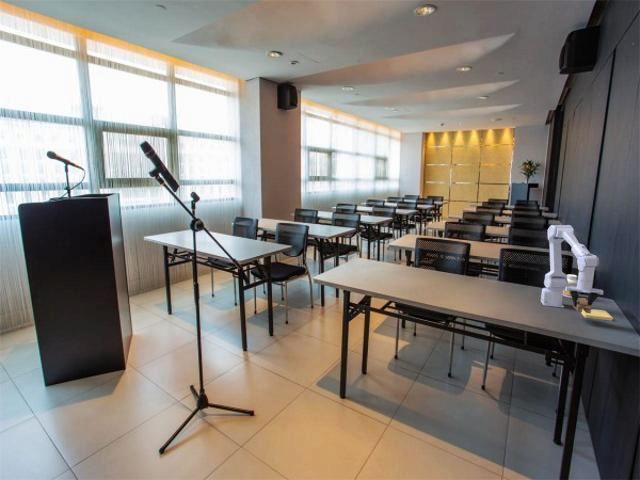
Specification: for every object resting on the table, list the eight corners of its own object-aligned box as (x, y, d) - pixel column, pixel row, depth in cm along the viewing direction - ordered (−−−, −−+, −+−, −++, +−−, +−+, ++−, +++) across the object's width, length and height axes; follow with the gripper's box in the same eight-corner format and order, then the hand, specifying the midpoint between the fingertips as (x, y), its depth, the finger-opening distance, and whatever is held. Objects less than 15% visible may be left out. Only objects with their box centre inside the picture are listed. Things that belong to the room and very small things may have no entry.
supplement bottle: (561, 293, 203) (563, 273, 201) (574, 295, 200) (577, 274, 198) (564, 297, 197) (567, 276, 194) (578, 298, 194) (581, 277, 192)
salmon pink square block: (579, 304, 164) (580, 299, 163) (577, 301, 166) (578, 297, 166) (587, 304, 162) (587, 300, 162) (584, 302, 165) (585, 298, 165)
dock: (585, 317, 169) (585, 314, 168) (578, 310, 178) (579, 307, 178) (612, 320, 165) (613, 317, 164) (604, 313, 174) (604, 310, 174)
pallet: (577, 311, 162) (578, 305, 162) (572, 306, 169) (573, 300, 169) (590, 313, 160) (591, 307, 160) (584, 307, 168) (585, 301, 167)
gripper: (569, 280, 161) (566, 307, 164) (607, 283, 156) (603, 311, 158) (565, 276, 168) (562, 302, 170) (601, 279, 162) (597, 306, 165)
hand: (581, 306), depth 165 cm, fingers closed on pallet, 5 cm apart
